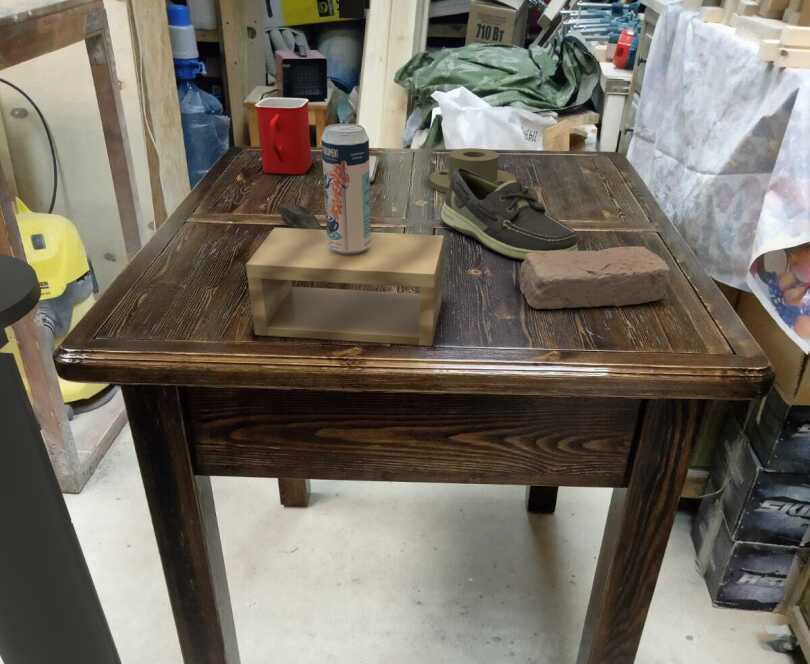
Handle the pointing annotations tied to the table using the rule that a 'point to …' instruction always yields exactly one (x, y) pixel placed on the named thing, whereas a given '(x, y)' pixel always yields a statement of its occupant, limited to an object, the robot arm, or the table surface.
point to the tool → (298, 217)
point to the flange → (470, 167)
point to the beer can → (347, 187)
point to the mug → (284, 135)
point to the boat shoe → (503, 216)
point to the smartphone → (372, 166)
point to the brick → (593, 278)
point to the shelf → (347, 309)
